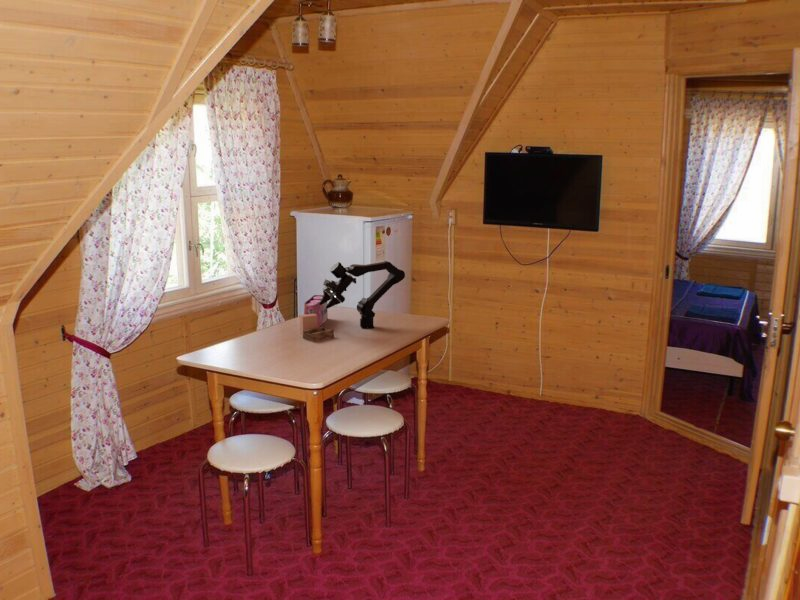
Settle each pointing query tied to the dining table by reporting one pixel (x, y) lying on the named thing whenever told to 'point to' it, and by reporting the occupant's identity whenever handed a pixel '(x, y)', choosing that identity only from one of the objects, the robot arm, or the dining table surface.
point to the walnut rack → (318, 334)
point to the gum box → (316, 308)
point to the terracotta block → (308, 322)
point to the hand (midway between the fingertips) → (323, 306)
